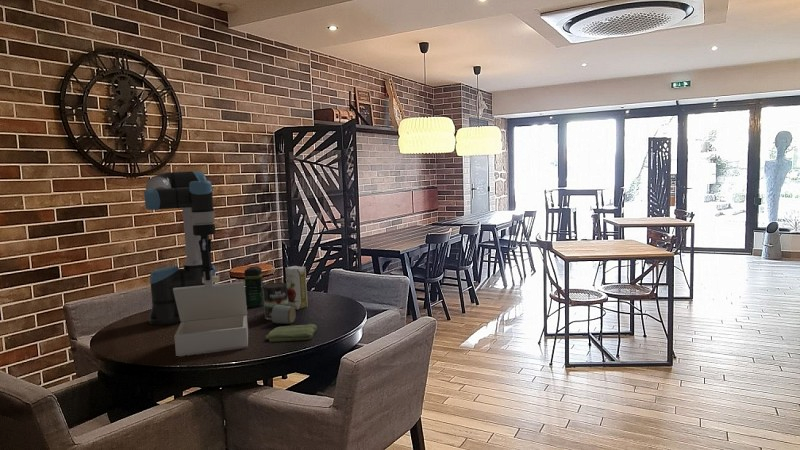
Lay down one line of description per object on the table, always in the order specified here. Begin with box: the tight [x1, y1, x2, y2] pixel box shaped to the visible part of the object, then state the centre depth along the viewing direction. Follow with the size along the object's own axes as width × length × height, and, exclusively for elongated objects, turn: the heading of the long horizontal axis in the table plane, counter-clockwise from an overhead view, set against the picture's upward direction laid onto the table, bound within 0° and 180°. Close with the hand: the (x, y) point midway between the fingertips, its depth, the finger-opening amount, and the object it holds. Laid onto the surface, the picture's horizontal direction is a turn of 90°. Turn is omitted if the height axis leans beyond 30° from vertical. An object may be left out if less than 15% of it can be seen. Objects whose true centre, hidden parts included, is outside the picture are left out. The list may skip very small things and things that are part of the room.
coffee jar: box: [243, 265, 264, 308], centre depth 246 cm, size 10×8×19 cm
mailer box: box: [173, 314, 249, 357], centre depth 191 cm, size 18×24×8 cm
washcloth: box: [265, 323, 318, 343], centre depth 198 cm, size 13×18×3 cm
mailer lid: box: [173, 274, 248, 322], centre depth 196 cm, size 18×24×9 cm
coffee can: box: [263, 282, 288, 321], centre depth 225 cm, size 10×10×14 cm
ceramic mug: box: [271, 305, 297, 325], centre depth 217 cm, size 11×8×8 cm
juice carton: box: [285, 265, 309, 310], centre depth 239 cm, size 8×9×19 cm
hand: (209, 288), depth 187 cm, fingers closed
